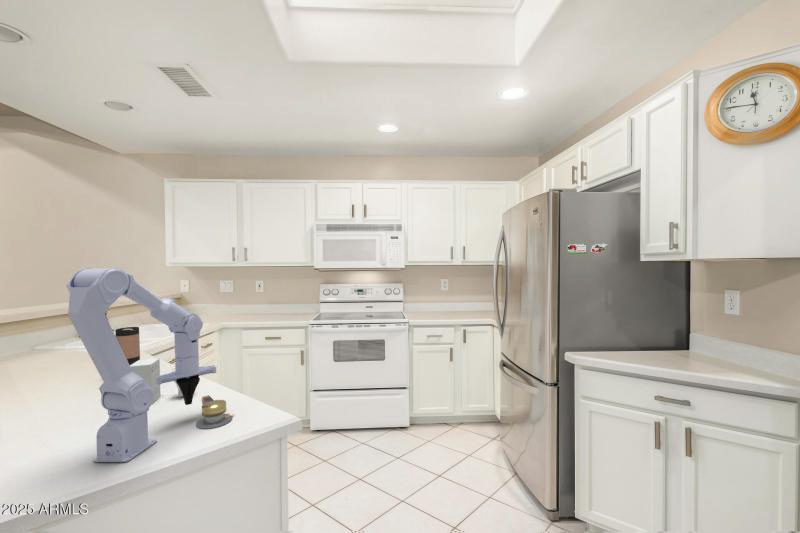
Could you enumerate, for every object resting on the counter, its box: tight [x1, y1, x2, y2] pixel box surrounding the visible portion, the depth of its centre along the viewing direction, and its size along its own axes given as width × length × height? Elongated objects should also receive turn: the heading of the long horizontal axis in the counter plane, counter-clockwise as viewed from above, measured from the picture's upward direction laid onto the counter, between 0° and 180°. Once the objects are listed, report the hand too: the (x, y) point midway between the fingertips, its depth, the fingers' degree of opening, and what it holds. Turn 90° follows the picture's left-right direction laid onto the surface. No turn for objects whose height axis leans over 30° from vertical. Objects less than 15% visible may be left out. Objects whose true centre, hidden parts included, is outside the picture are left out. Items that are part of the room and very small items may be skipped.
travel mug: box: [114, 326, 141, 365], centre depth 139 cm, size 8×8×20 cm
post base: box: [195, 413, 235, 430], centre depth 98 cm, size 9×9×2 cm
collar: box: [201, 394, 227, 418], centre depth 100 cm, size 12×6×2 cm, turn 43°
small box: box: [130, 358, 161, 405], centre depth 114 cm, size 8×6×13 cm
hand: (188, 403), depth 99 cm, fingers closed
